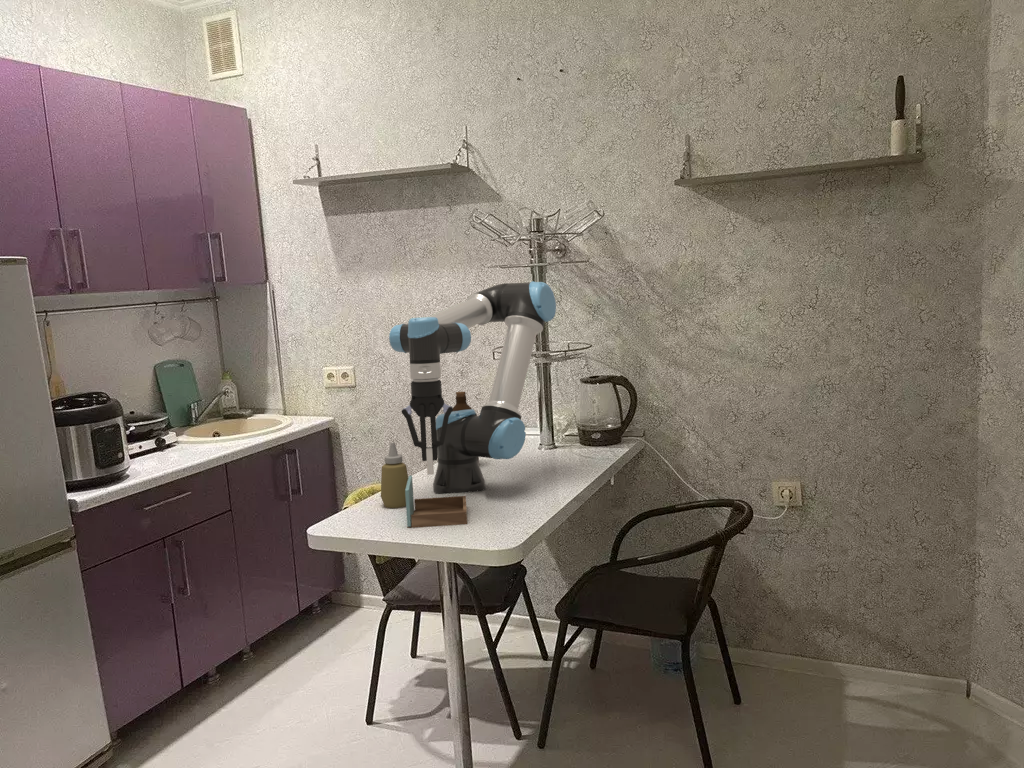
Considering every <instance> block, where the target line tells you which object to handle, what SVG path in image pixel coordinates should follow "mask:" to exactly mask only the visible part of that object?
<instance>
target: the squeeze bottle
mask: <svg viewBox="0 0 1024 768" xmlns="http://www.w3.org/2000/svg"><path fill="white" fill-rule="evenodd" d="M408 473H409V472H408V467H407V464H405V463H404V462H403V455H402V454H399V453H398V450H397V447H396V443H395V442H390V443H389V448H388V455H386V456H384V464H383V465H382V466H381V479H380V498H381V501H382V503H383V506H384V507H385V508H387V509H400V508H401V509H402V508H406V496H405V489H406V485H407V481H408V478H409V475H408Z"/></svg>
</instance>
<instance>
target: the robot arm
mask: <svg viewBox="0 0 1024 768" xmlns="http://www.w3.org/2000/svg"><path fill="white" fill-rule="evenodd" d="M556 301H557V300H556V297H555V293H554V291H553V289H552V288H551V287H550V285H549V284H547V283H546V282H543V281H530V282H529V281H526V282H510V283H508V282H507V283H505V282H504V283H499V284H495V285H493V286H489V287H486V288H485V289H483V290H480V291H477V292H475V293H472V294H471V295H469V297H467V299H466V300H465V301H462V302H460V303H458V304H455V305H453V306H450V307H448V308H446V309H444V310H443V309H442V310H440V311H439V312H436V313H434V314H431V315H429V316H425V317H424V316H423V317H412V318H411V317H410V319H409V320H408V322H407V324H406V323H401V324H396V325H394V326H393V327H392V328H391V329H390V331H389V335H388V340H389V345H390V347H391V348H392V349H393V351H395V352H396V353H397V352H398V353H404V354H408V353H409V375H410V377H409V378H410V379H411V380H412V381H411V382H410V391H411V392H410V394H411V398H410V402H409V405H407V406H406V407H403V408H402V410H401V414H402V416H404V419H405V420H406V423H407V427H408V429H409V432H410V437H411V439H412V443H413V445H414V447H417V448H420V449H421V460H422V462H426V472H427V473H426V474H427V475H429V476H430V475H431V476H432V475H434V474H435V475H434V480H433V482H432V487H433V489H432V490H433V493H435V494H437V495H445V494H447V495H448V494H462V493H463V494H464V493H477V492H479V493H480V492H482V491H484V490H486V480H485V478H484V475H483V473H482V470H481V467H480V463H479V464H478V457H479V458H487V459H494V460H510V459H512V458H514V457H515V456H517V455H518V454H519V453H520V451H521V450H522V448H523V446H524V445H525V441H526V436H527V433H526V426H525V423H524V421H523V420H522V415H521V412H520V411H519V407H520V403H521V399H522V394H523V390H524V386H525V382H526V378H527V375H528V370H529V367H530V362H531V357H532V354H533V349H534V345H535V342H536V338H537V337H536V336H537V335H539V334H540V333H542V332H543V330H544V327H545V323H548V322H551V321H552V320H553V319H554V318H555V315H556V312H557V303H556ZM502 322H503V323H505V325H506V326H507V330H506V333H505V334H506V335H505V337H504V342H503V346H502V349H501V354H500V357H499V361H498V364H497V368H496V372H495V377H494V381H493V383H492V388H491V392H490V396H489V399H488V402H487V403H485V404H483V405H482V406H481V409H480V413H479V415H477V416H476V414H477V412H476V410H475V409H473V408H472V409H468V410H460V411H453V407H454V406H452V405H449V404H447V403H445V400H444V398H443V394H442V393H443V392H442V391H443V390H442V381H441V379H440V378H441V377H442V373H441V372H442V368H441V367H442V366H441V355H442V354H451V353H459V352H463V351H466V350H467V349H468V348H469V346H470V345H471V341H472V333H471V330H470V329H469V328H472V327H474V326H476V325H479V326H483V325H484V326H485V325H487V324H489V323H502ZM442 408H443V411H442V412H443V413H440V411H441V410H442ZM412 410H413V411H412ZM452 411H453V412H452ZM413 412H414V413H415V415H417V416H418V417H419V423H420V424H419V425H420V426H419V427H420V439H419V436H418V433H417V430H416V427H415V424H414V420H413V417H412V413H413ZM439 413H440V414H439ZM436 416H437V417H436ZM426 418H429V420H430V436H431V438H430V439H431V446H427V445H428V444H427V426H426V424H427V423H426ZM434 461H437V468H436V472H435V473H434V471H435V470H434Z"/></svg>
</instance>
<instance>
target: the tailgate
mask: <svg viewBox="0 0 1024 768" xmlns="http://www.w3.org/2000/svg"><path fill="white" fill-rule="evenodd" d="M413 486H414V485H413V475H408V481H407V485H406V489H405V496H406V506H405V511H406V512H405V513H406V526H407V527H411V523H412V519H411V515H413V512H414V510H415V498H414V487H413Z"/></svg>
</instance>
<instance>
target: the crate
mask: <svg viewBox="0 0 1024 768" xmlns="http://www.w3.org/2000/svg"><path fill="white" fill-rule="evenodd" d="M467 511H468V509H467V496H466V495H457V496H441V497H426V498H414V512H413V515H411V519H412V523H411V527H407V529H412V528H413V529H415V528H430V527H431V528H432V527H445V526H458V525H459V526H461V525H462V526H463V525H468V512H467Z"/></svg>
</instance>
